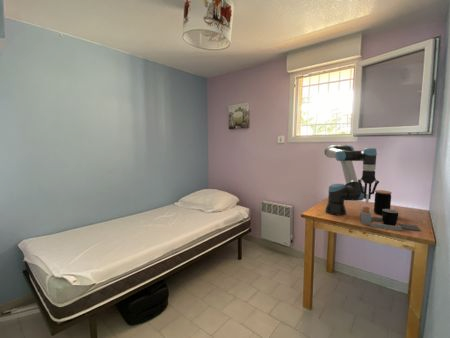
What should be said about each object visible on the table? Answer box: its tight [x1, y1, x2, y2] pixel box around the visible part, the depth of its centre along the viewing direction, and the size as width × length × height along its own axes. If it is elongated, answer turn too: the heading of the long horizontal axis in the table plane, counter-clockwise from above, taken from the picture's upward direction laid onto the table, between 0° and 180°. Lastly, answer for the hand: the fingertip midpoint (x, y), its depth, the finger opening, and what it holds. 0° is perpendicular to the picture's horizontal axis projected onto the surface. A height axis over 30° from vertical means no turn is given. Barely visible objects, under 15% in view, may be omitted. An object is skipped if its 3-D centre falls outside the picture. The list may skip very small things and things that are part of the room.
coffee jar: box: [373, 189, 392, 216], centre depth 180 cm, size 11×11×18 cm
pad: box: [398, 222, 422, 232], centre depth 151 cm, size 10×10×1 cm
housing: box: [359, 208, 403, 232], centre depth 157 cm, size 22×16×8 cm
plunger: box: [362, 206, 370, 213], centre depth 161 cm, size 4×4×5 cm
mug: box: [381, 208, 399, 226], centre depth 155 cm, size 12×9×10 cm
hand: (366, 203), depth 160 cm, fingers closed
